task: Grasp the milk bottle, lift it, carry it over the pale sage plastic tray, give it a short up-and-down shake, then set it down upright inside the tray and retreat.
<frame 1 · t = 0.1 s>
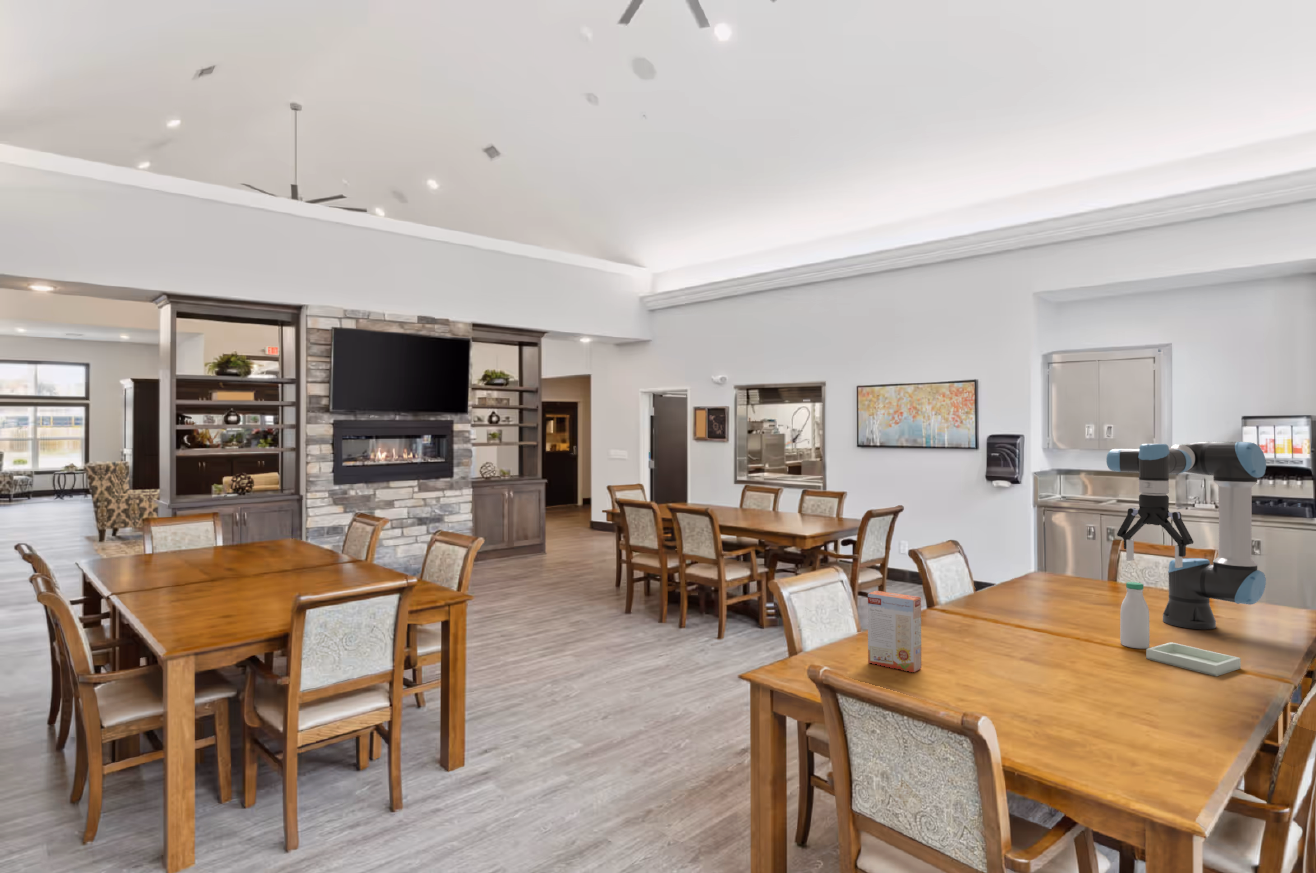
hand: (1153, 563, 218), 28 cm above the table, fingers open, 13 cm apart
cracker box: (894, 666, 209), on the table
milk bottle: (1134, 646, 228), on the table
tray: (1192, 663, 210), on the table
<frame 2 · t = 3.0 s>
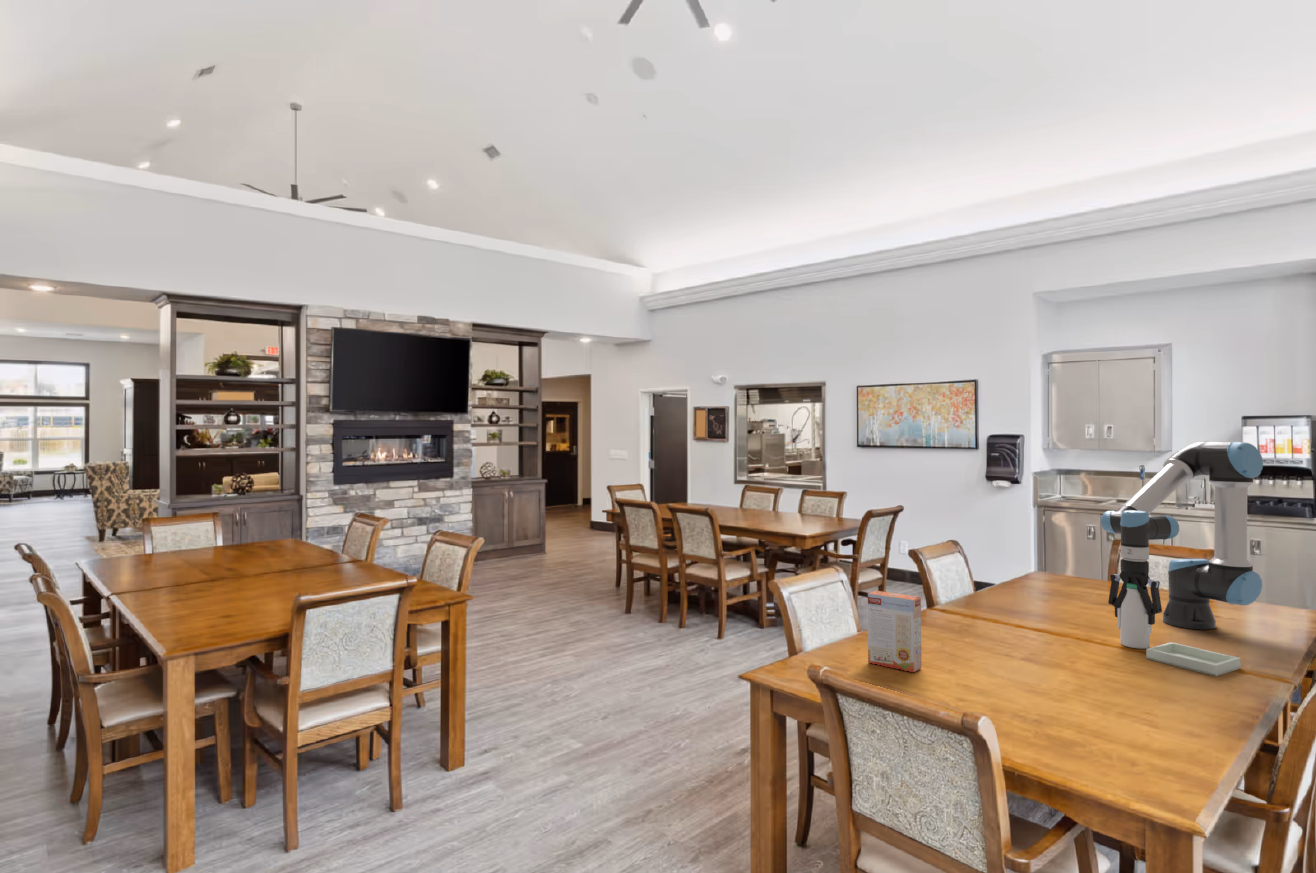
hand: (1134, 630, 228), 5 cm above the table, fingers closed on milk bottle, 7 cm apart
milk bottle: (1134, 646, 228), on the table, touching gripper
everything else where it was.
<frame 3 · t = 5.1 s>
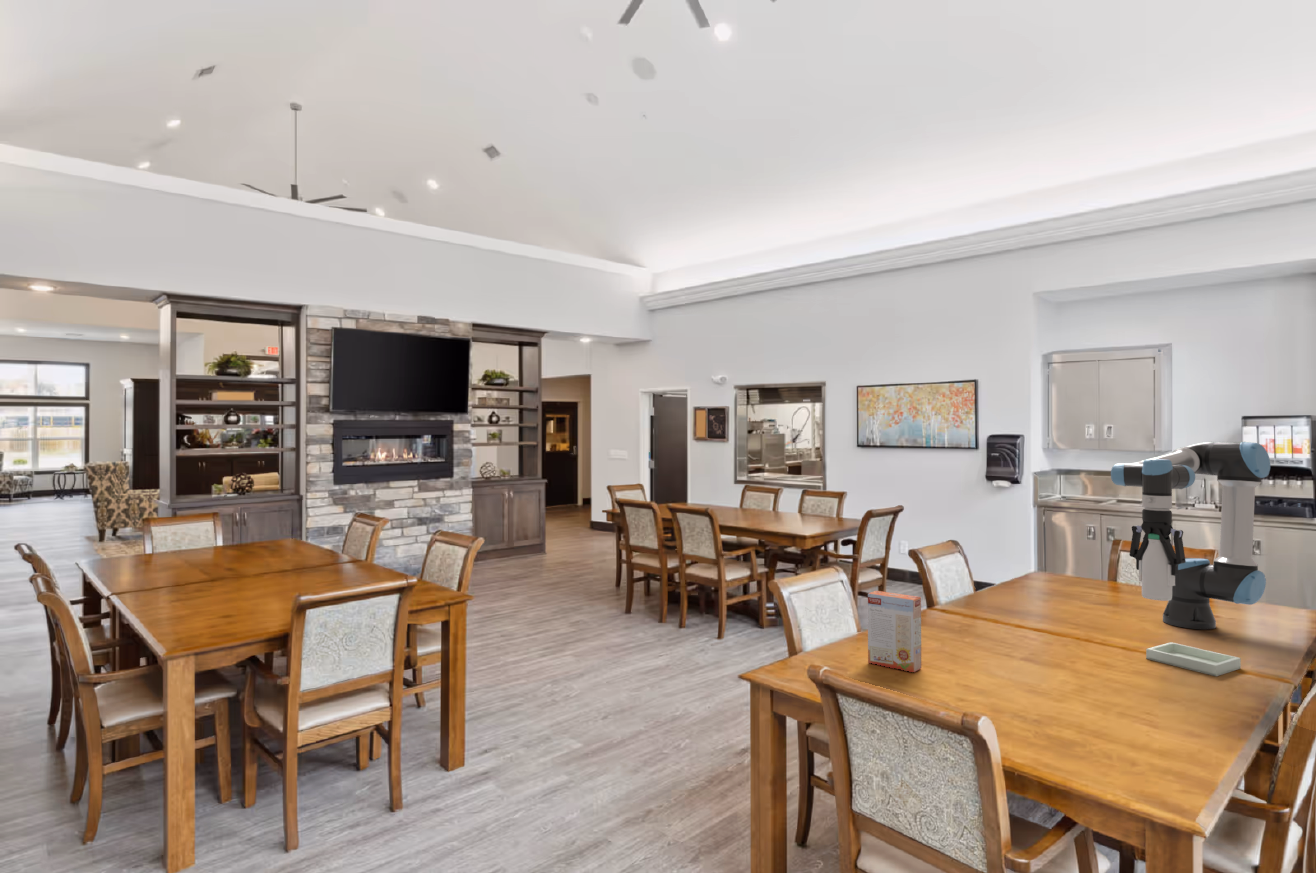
hand: (1156, 583, 220), 21 cm above the table, fingers closed on milk bottle, 7 cm apart
milk bottle: (1156, 599, 220), point 17 cm above the table, touching gripper
everything else where it was.
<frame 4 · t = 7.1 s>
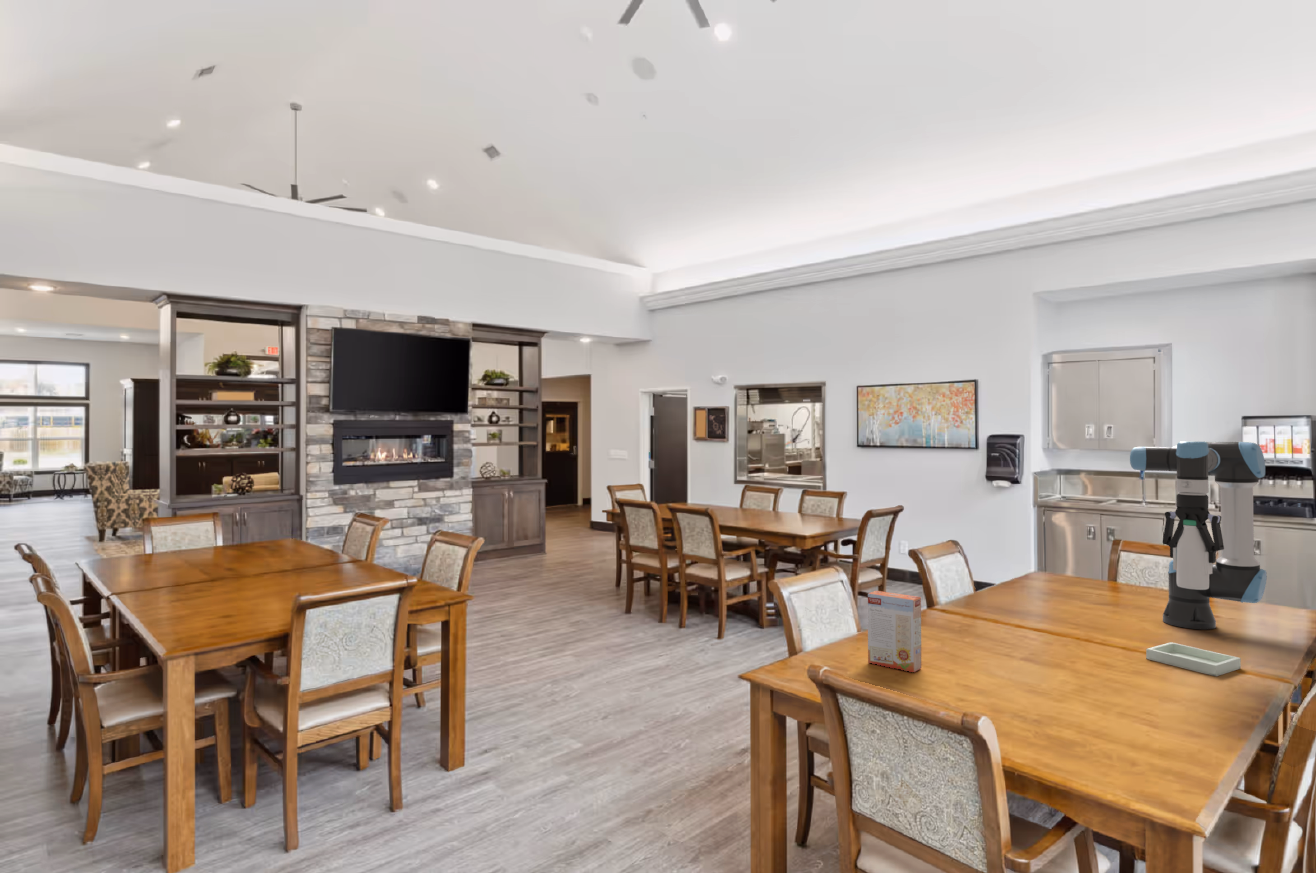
hand: (1192, 571, 210), 27 cm above the table, fingers closed on milk bottle, 7 cm apart
milk bottle: (1192, 588, 210), point 22 cm above the table, touching gripper
everything else where it was.
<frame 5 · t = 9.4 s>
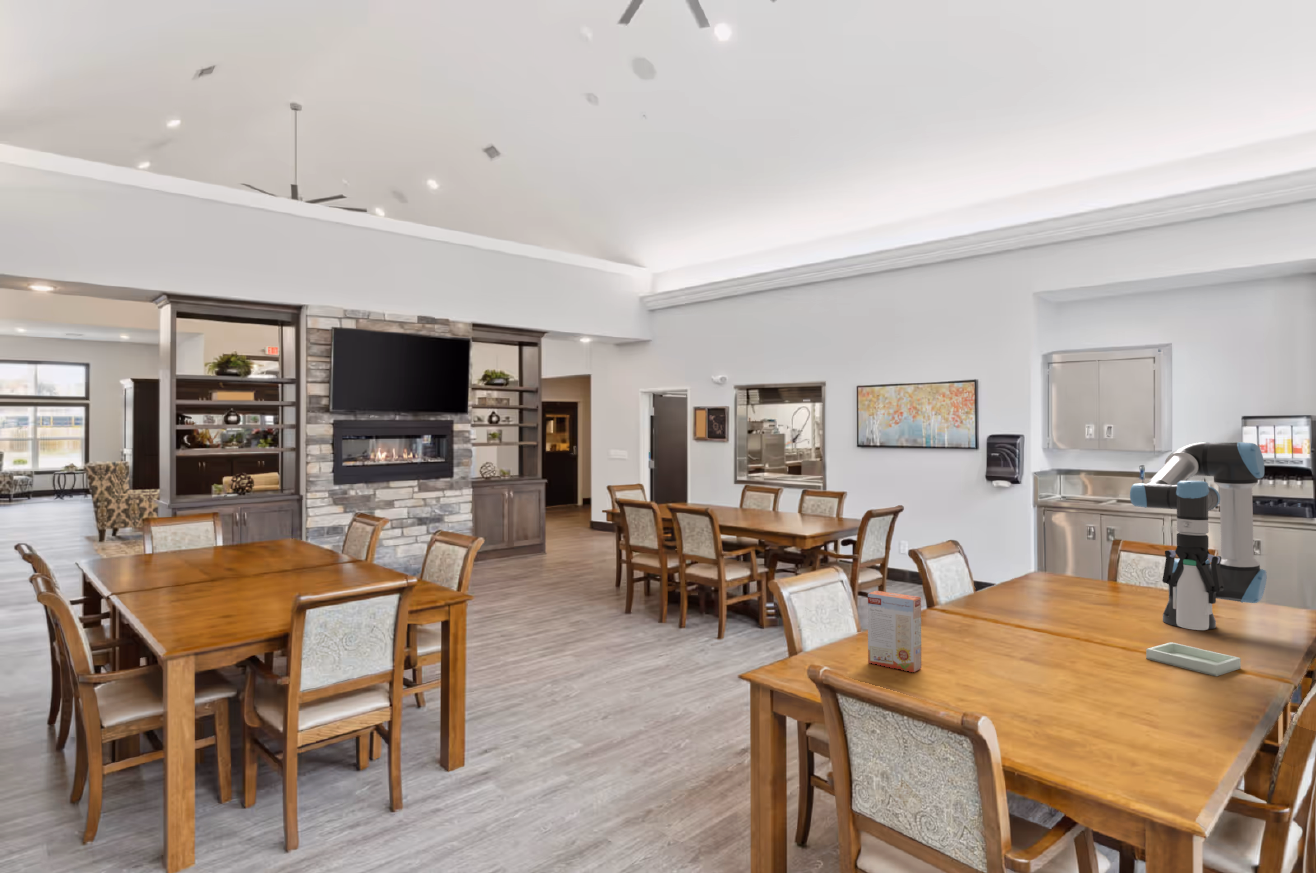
hand: (1192, 611, 210), 15 cm above the table, fingers closed on milk bottle, 7 cm apart
milk bottle: (1192, 627, 210), point 11 cm above the table, touching gripper
everything else where it was.
when the fingers open (7 cm above the table, at t = 11.5 s): milk bottle drops 1 cm, resting on tray.
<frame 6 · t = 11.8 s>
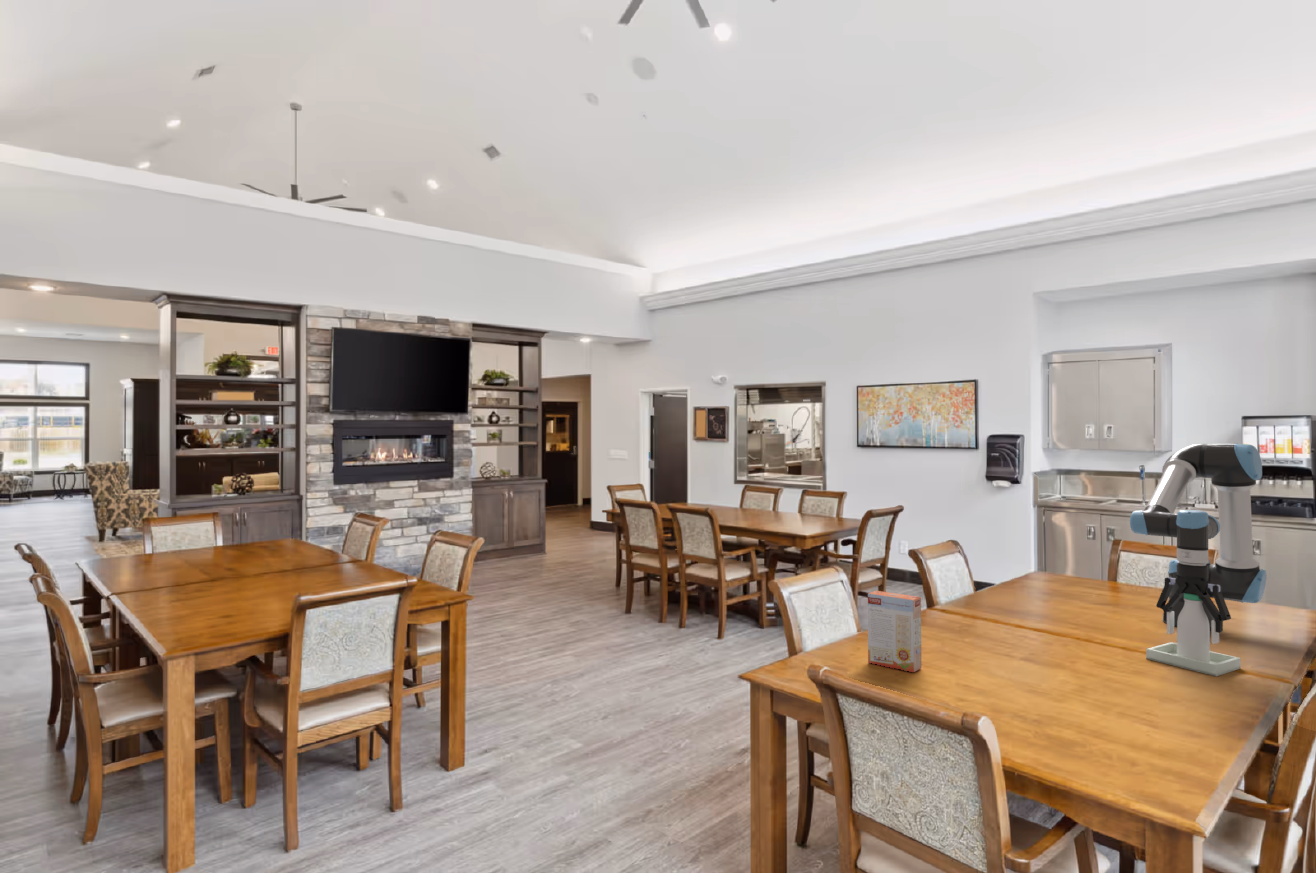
hand: (1192, 637, 210), 7 cm above the table, fingers open, 11 cm apart
milk bottle: (1193, 662, 210), resting on tray
everything else where it was.
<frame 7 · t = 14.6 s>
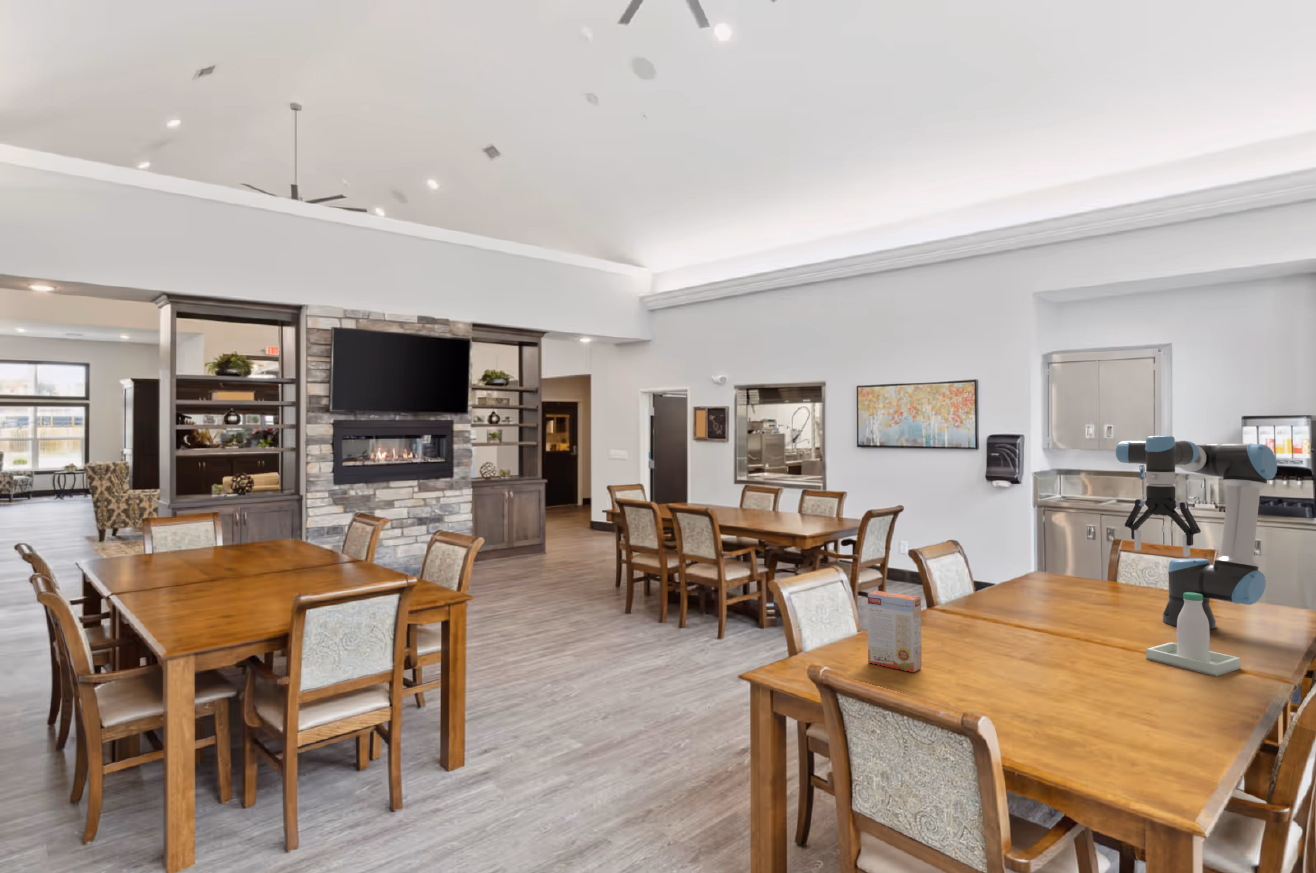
hand: (1161, 553, 224), 30 cm above the table, fingers open, 13 cm apart
nothing on the table moved.
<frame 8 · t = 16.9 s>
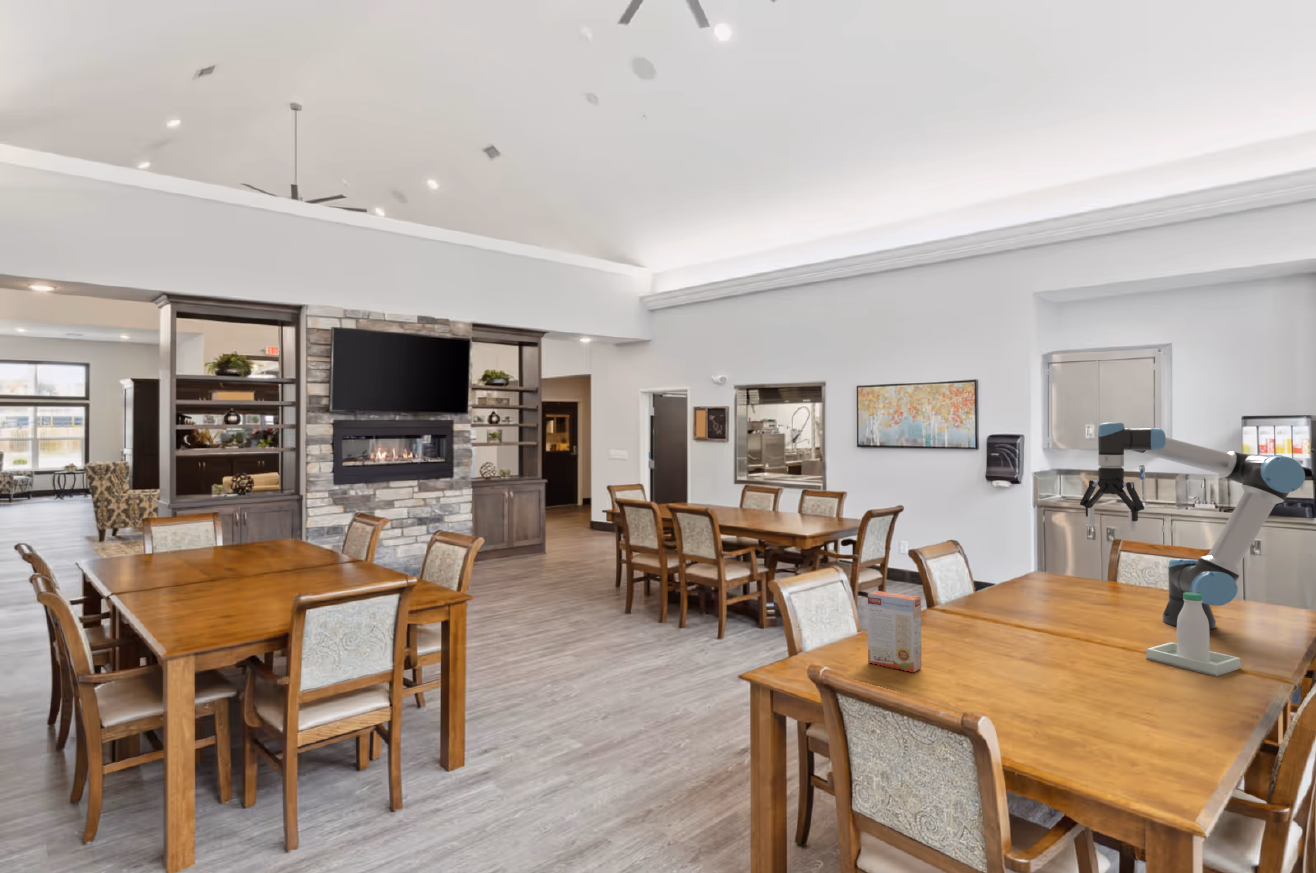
hand: (1111, 528, 248), 35 cm above the table, fingers open, 13 cm apart
nothing on the table moved.
at the end: milk bottle inside the target area on the tray (0.2 cm from its centre), point 0.4 cm above the tray's base; milk bottle tilted 0°; the gripper is holding nothing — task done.
